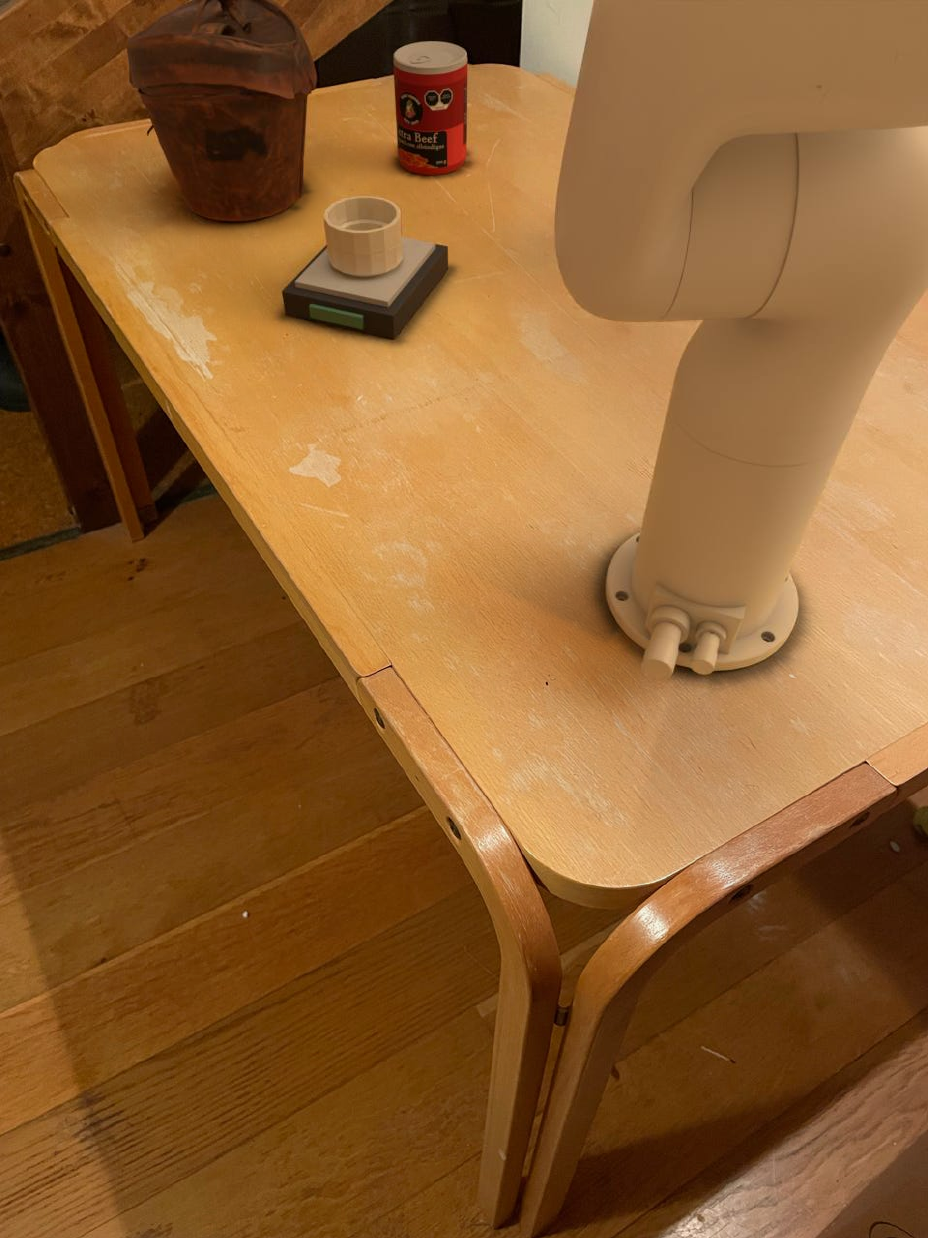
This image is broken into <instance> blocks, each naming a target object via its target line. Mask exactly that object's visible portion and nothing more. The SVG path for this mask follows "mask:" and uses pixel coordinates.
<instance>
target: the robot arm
mask: <svg viewBox="0 0 928 1238" xmlns="http://www.w3.org/2000/svg"><path fill="white" fill-rule="evenodd" d="M587 27H588V28H587V33H586V38H585V42H584V47H583V51H582V52H583V53H582V57H581V63H580V68H579V73H578V77H577V81H576V82H577V83H576V88H575V93H574V98H573V103H572V107H571V113H570V117H569V122H568V128H567V132H566V136H565V142H564V146H563V153H562V157H561V163H560V168H559V169H560V170H559V175H558V180H557V182H558V183H557V188H556V196H555V206H554V247H555V248H554V249H555V250H554V251H555V256H556V262H557V266H558V267H557V268H558V270H559V274H560V277H561V279H562V282H563V284H564V287H565V288H566V290H567V292H568V294H569V295H570V296H571V298H572V299H573V301H574V302H575V303H576V304H577V305H578V306H579V307H580V308H581V309H583V310H584V311H586V312H587V313H589V314H590V315H592V316H594V317H597V318H599V319H602V320H605V321H611V322H615V323H616V322H617V323H618V322H619V323H667V322H668V323H669V322H687V321H701V322H700V324H699V325H698V327H697V328H696V329H695V331H694V333H693V334H692V336H691V337H690V339H689V341H688V343H687V344H686V345H685V348H684V350H683V352H682V354H681V357H680V359H679V361H678V364H677V368H676V371H675V374H674V377H673V381H672V387H671V391H670V396H669V400H668V405H667V409H666V414H665V418H664V424H663V426H662V431H661V436H660V440H659V445H658V450H657V455H656V458H655V463H654V468H653V471H652V472H653V473H652V478H651V482H650V487H649V490H648V494H647V495H648V496H647V500H646V505H645V508H644V513H643V518H642V522H641V527H640V530H639V531H638V532H636V533H635V534H633V535H631V536H629V538H628V539H626V540H625V541H624V542H623V543H622V544H621V545H620V546H619V547H618V548H617V550H616V551H615V553H614V554H613V556H612V558H611V560H610V562H609V565H608V568H607V572H606V573H607V574H606V579H605V598H606V601H607V605H608V608H609V611H610V612H611V614H612V616H613V618H614V619H615V622H616V624H617V625H618V626H619V627H620V628H621V630H622V631H623V632H624V633H625V635H626V636H627V637H628V638H630V639H631V640H632V641H633V642H634V643H636V644H637V645H638V646H639V647H640V648H642V649H643V650H644V654H643V656H642V660H641V664H640V666H639V668H640V670H641V673H642V674H643V675H644V676H646V677H647V678H649V679H652V680H655V681H665V680H668V679H671V676H673V673H674V671H675V670H674V669H675V666H676V665H677V666H681V667H685V668H688V669H692V671H693V672H695V673H697V674H698V675H703V676H706V675H710V674H712V673H713V672H714V671H715V672H717V671H732V670H733V671H734V670H737V669H743V668H747V667H750V666H753V665H755V664H758V663H760V662H762V661H764V660H766V659H768V658H769V657H770V656H772V655H773V654H774V653H776V652H777V651H779V649H780V648H781V647H782V646H783V645H784V644H785V643H786V642H787V640H788V638H789V636H790V634H791V633H792V631H793V628H794V626H795V624H796V621H797V618H798V615H799V601H800V600H799V595H798V590H797V586H796V584H795V582H794V579H793V577H792V575H791V573H790V570H791V568H792V566H793V563H794V561H795V559H796V556H797V554H798V551H799V549H800V547H801V545H802V542H803V540H804V538H805V535H806V532H807V530H808V528H809V526H810V523H811V521H812V519H813V516H814V513H815V511H816V509H817V507H818V504H819V502H820V500H821V497H822V495H823V492H824V490H825V488H826V485H827V482H828V480H829V478H830V475H831V473H832V471H833V468H834V466H835V464H836V462H837V459H838V457H839V455H840V452H841V449H842V448H843V445H844V443H845V440H846V439H847V437H848V435H849V432H850V431H851V428H852V425H853V423H854V421H855V418H856V416H857V415H858V411H859V409H860V407H861V405H862V402H863V400H864V398H865V395H866V393H867V391H868V389H869V387H870V385H871V382H872V380H873V378H874V377H875V374H876V372H877V371H878V368H879V366H880V364H881V363H882V360H883V358H884V356H886V354H887V351H888V350H889V348H890V346H891V344H892V343H893V341H894V339H895V337H896V336H897V334H898V333H899V331H900V330H901V328H902V327H903V325H904V324H905V322H906V320H907V319H908V317H909V316H910V315H911V314H912V312H913V310H914V309H915V308H916V306H917V305H918V303H919V302H920V301H921V299H922V298H923V296H924V295H925V293H926V292H927V291H928V0H593V3H592V8H591V13H590V18H589V22H588V26H587Z"/></svg>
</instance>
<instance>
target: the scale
mask: <svg viewBox="0 0 928 1238" xmlns="http://www.w3.org/2000/svg"><path fill="white" fill-rule="evenodd" d="M402 240H403V260H402V261H401V262H400V263H399V265H398V266H397V267H396V268H394V269H392V270H390V271H389V272H387V273H385V274H382V275H379V276H374V277H355V276H350V275H348V274H345V273H343V272H341V271H339V270H337V269H336V268H334V267H333V266H332V265H331V263H330V262H329V260H328V252H327V244H325V245H324V247H323V248H322V249H321V250H319V252H318V253H317V254H316V255H315V256H314V257H313V258H312V259H311V260H310V261H309V262H308V263H307V264H306V265H305V266H304V267H303V269H301V270H300V271H299V273H298V274H297V275H295V277H294V278H293V279H292V280H290V282H289V283H287V285H286V286H285V287H284V288H283V289H282V290H281V295H282V301H283V306H284V313H285V315H286V316H290V317H295V318H298V319H303V320H308V321H312V322H317V323H321V324H324V325H325V324H326V325H329V326H335V327H338V328H342V329H347V330H351V331H356V332H361V333H365V334H368V335H372V336H373V335H374V336H378V337H382V338H386V339H390V340H396V338H397V337H398V335H399V334H400V333H401V332H402V330H403V329H404V328H405V327H406V325H407V324H408V323H409V321H410V320H411V318H413V316H414V315H415V313H416V312H417V311H418V310H419V308H420V307H421V306H422V304H423V303H424V301H425V300H426V299H427V298H428V296H429V295H430V293H431V292H432V291H433V290H434V289H435V287H436V286H437V285H438V283H439V282H440V281H441V279H442V278H443V277H444V275H445V274H446V273H447V272H448V270H449V246H448V245H444V244H439V243H435V242H431V241H426V240H421V239H420V240H419V239H416V238H411V237H406V236H402Z"/></svg>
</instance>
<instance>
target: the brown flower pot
mask: <svg viewBox="0 0 928 1238" xmlns="http://www.w3.org/2000/svg"><path fill="white" fill-rule="evenodd" d="M125 48H126V49H125V50H126V52H127V61H128V73H129V74H128V75H129V76H128V77H129V83H130V85H131V87H132V88H135V89H137V92H138V95H139V96H140V98H141V101H142V103H143V105H144V107H145V109H146V113H147V115H148V118H149V120H150V123H151V125H150V127H149V128H148V129H147V131H146V136H147V137H149V134H150V133H151V132H152V130H154V132H155V135H156V137H157V140H158V143H159V146H160V148H161V150H162V152H163V154H164V156H165V159H166V161H167V163H168V166H169V169H170V171H171V173H172V175H173V179H174V180H175V182H176V185H177V187H178V190H179V192H180V194H181V197H182V199H183V201H184V203H185V205H186V206H187V208H188V209H189V210H190V211H191V212H193V213H194V214H197V215H198V216H201V217H203V218H206V219H210V220H214V221H218V222H219V221H220V222H248V221H255V220H260V219H264V218H268V217H272V216H274V215H276V214H277V215H278V214H279V213H282V212H284V211H285V210H287V209H288V208H289V209H290V207H292V205H294V204H295V203H296V202H297V201H298V200H299V199H300V198H302V196H303V195H304V191H305V188H304V164H305V163H304V161H305V159H304V158H305V146H306V130H307V129H306V128H307V114H308V113H307V111H308V96H309V95H312V92H313V91H315V90H316V88H317V84H318V83H317V82H318V76H317V75H318V74H317V70H316V66H315V63H314V59H313V57H312V54H311V51H310V48H309V46H308V44H307V42H306V40H305V37H304V35H303V33H302V30H301V28H300V26H299V24H298V23H297V21H296V19H295V18H294V17H293V15H292V14H291V13H290V12H289V11H288V10H287V9H286V8H285V7H284V6H282V5H281V4H279V3H277V2H276V1H274V0H190V1H187V2H185V3H183V4H181V5H180V6H178V7H176V8H174V9H172V10H170V11H168V12H166V13H164V14H163V15H161V16H160V17H158V18H157V19H155V20H154V21H153V22H152V23H150V24H149V25H148V26H146V27H144V28H143V29H142V30H139V32H137V33H136V34H135V35H133V36H131V37H128V38H127V40H126V42H125Z"/></svg>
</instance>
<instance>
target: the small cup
mask: <svg viewBox="0 0 928 1238" xmlns="http://www.w3.org/2000/svg"><path fill="white" fill-rule="evenodd" d="M323 226H324V233H325V242H326V245H327V252H328V260H329V262H330V263H331V265H332V266H333V267H334V268H336V269H337V270H339V271H341V272H343V273H345V274H348V275H350V276H355V277H374V276H379V275H382V274H385V273H387V272H389V271H390V270H392V269H394V268H396V267H397V266H398V265H399V263H400V262H401V261H402V260H403V240H402V237H403V223H402V209H401V208H400V207H399V206H398V204H397V203H395V202H394V201H391V200H389V199H387V198H385V197H380V196H376V195H375V196H374V195H354V196H349V197H345V198H340V199H339V200H337V201H335V202H332V203H331V204H330V205H328V206H327V207H326V208H325V210H324V211H323Z"/></svg>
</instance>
